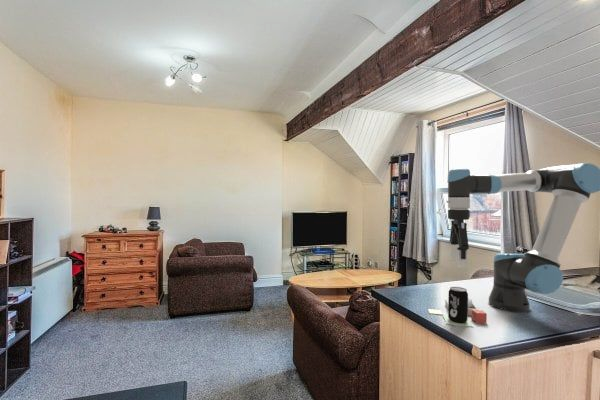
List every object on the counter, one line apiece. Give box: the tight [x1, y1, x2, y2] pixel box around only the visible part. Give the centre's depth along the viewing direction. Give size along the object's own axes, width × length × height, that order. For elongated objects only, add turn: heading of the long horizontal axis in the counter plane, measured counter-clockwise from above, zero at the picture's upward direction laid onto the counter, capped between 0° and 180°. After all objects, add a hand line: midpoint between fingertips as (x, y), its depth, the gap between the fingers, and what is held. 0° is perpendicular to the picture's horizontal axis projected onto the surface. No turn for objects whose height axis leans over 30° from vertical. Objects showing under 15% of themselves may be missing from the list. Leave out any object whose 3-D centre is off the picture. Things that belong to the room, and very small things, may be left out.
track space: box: [427, 308, 444, 316], centre depth 131 cm, size 5×5×1 cm
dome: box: [468, 297, 473, 308], centre depth 134 cm, size 8×8×5 cm
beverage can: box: [447, 286, 469, 323], centre depth 121 cm, size 7×7×12 cm
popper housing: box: [444, 298, 480, 317], centre depth 134 cm, size 11×11×2 cm
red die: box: [471, 309, 488, 324], centre depth 122 cm, size 4×4×4 cm
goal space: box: [442, 314, 474, 328], centre depth 121 cm, size 9×9×1 cm
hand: (458, 264), depth 124 cm, fingers open, 13 cm apart
